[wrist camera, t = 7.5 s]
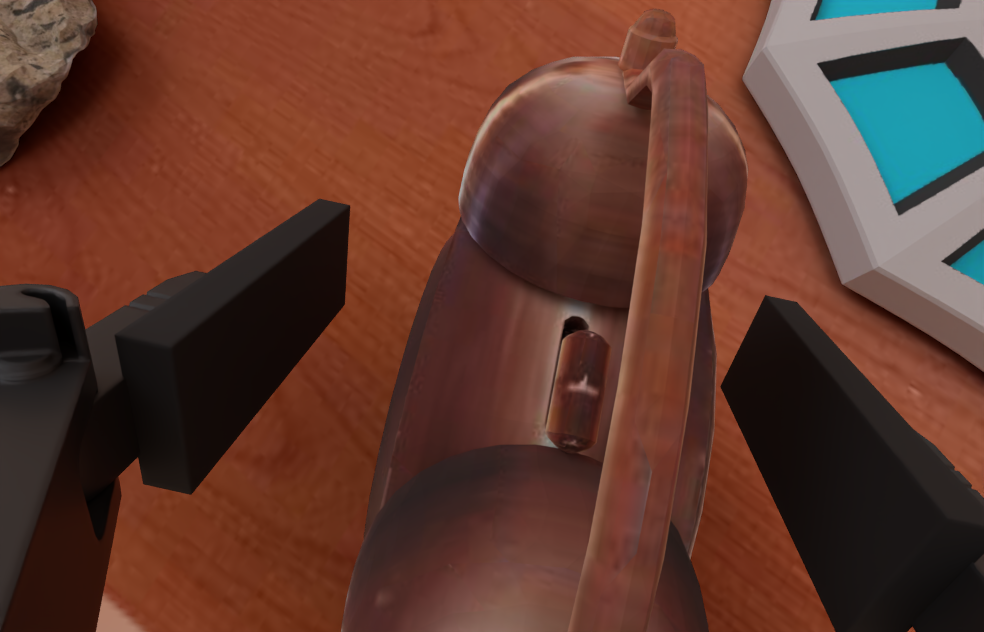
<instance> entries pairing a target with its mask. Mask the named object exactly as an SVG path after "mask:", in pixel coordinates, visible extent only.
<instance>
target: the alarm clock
mask: <svg viewBox="0 0 984 632" xmlns="http://www.w3.org/2000/svg"><path fill="white" fill-rule="evenodd" d="M677 42H678V38H677V36H676V29H675V19H674V17H673V16H672V15H671V14H670V13H668V12H666V11H664V10H660V9H651V10H647V11H644V13H643V14H642V15H641V16H640V18H639V19H638V20H637V21H636V23H635V24H634V25H633V26H631V27H629V30H628V33H627V37H626V40H625V43H624V46H623V50H622V53H621V56H620V58H618V57H571V58H567V59H563V60H559V61H555V62H552V63H549V64H547V65H544V66H541V67H539V68H536V69H533V70H531V71H530V72H528V73H527V74H525V75H524V76H522V77H521V78H519V79H518V80H516V81H514V82H513V83H511V84H510V85H508V87H507V88H506V89H505V90H504V91H503V92H502V94H501V95H500V96H499V97H498V98H497V100H496V101H495V102H494V103H493V104H492V106H491V108H490V110H489V111H488V113H487V115H486V117H485V119H484V121H483V123H482V124H481V126H480V128H479V130H478V132H477V135H476V137H475V140H474V142H473V145H472V147H471V150H470V153H469V156H468V160H467V163H466V167H465V170H464V174H463V179H462V184H461V188H460V193H459V210H460V214H461V217H460V220H459V223H458V225H457V228H456V230H455V233H454V234H453V235H452V236H451V237H450V238H449V240H448V241H447V242H446V243H445V245H444V247H443V248H442V250H441V252H440V254H439V256H438V258H437V261H436V263H435V265H434V267H433V269H432V271H431V274H430V277H429V280H428V282H427V285H426V288H425V290H424V293H423V296H422V298H421V301H420V304H419V307H418V310H417V313H416V316H415V319H414V322H413V325H412V328H411V332H410V335H409V338H408V342H407V345H406V348H405V352H404V355H403V358H402V362H401V366H400V369H399V373H398V377H397V380H396V384H395V388H394V391H393V395H392V399H391V402H390V406H389V411H388V415H387V419H386V424H385V428H384V432H383V437H382V441H381V445H380V449H379V454H378V459H377V464H376V469H375V473H374V478H373V483H372V488H371V493H370V498H369V505H368V511H367V518H366V524H365V532H364V540H363V543H362V546H361V549H360V552H359V554H358V557H357V560H356V563H355V566H354V570H353V574H352V578H351V582H350V586H349V590H348V594H347V599H346V605H345V610H344V615H343V621H342V630H341V632H709V629H708V623H707V619H706V614H705V609H704V604H703V599H702V594H701V590H700V586H699V583H698V580H697V577H696V574H695V571H694V568H693V566H692V563H691V560H690V558H691V554H692V550H693V546H694V542H695V538H696V535H697V531H698V527H699V523H700V519H701V515H702V510H703V504H704V497H705V490H706V483H707V477H708V470H709V463H710V457H711V450H712V443H713V436H714V427H715V393H716V360H717V352H716V345H715V338H714V331H713V324H712V316H711V309H710V301H709V292H708V287H710V286H711V285H712V284H713V283H714V281H715V280H716V278H717V276H718V275H719V273H720V271H721V269H722V267H723V265H724V263H725V261H726V259H727V257H728V255H729V252H730V250H731V247H732V244H733V241H734V238H735V235H736V232H737V229H738V226H739V223H740V220H741V217H742V214H743V211H744V206H745V197H746V188H747V177H748V165H747V159H746V153H745V149H744V147H743V144H742V142H741V140H740V137H739V135H738V133H737V130H736V128H735V126H734V124H733V123H732V122H731V120H730V119H729V118H728V116H727V115H726V114H725V112H724V111H723V110H722V108H721V107H720V106H719V105H718V104H717V103H716V102H715V101H714V100H713V99H711V98H710V97H709V96H708V95H707V90H706V81H705V72H704V64H703V63H702V62H701V61H700V60H699V59H698V58H697V57H696V56H695V55H693V54H691V53H688V52H686V51H684V50H682V49H675V48H676V45H677Z"/></svg>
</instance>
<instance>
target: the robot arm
mask: <svg viewBox="0 0 984 632" xmlns="http://www.w3.org/2000/svg"><path fill="white" fill-rule="evenodd" d="M349 217H350V205H346V204H341V203H337V202H332V201H327V200H323V199H318V200H317V201H315V202H314V203H312V204H311V205H309V206H308V207H306V208H305V209H303V210H302V211H300V212H299V213H297V214H296V215H294V216H293V217H291V218H290V219H288V220H287V221H285V222H284V223H282V224H280V225H279V226H277V227H276V228H274V229H273V230H271V231H270V232H268V233H267V234H265V235H264V236H262V237H261V238H259V239H258V240H256V241H255V242H253V243H252V244H250V245H249V246H247V247H246V248H244V249H243V250H241V251H240V252H238V253H237V254H235V255H234V256H232V257H231V258H229V259H228V260H226V261H225V262H223V263H222V264H220V265H219V266H217V267H216V268H214V269H213V270H211V271H210V272H208V273H203V272H199V271H194V272H190V273H187V274H184V275H181V276H177V277H174V278H171V279H168V280H166V281H164V282H163V283H161V284H159V285H158V286H156V287H154V288H153V289H151V290H150V291H148V292H147V295H141V296H140V297H138V298H137V299H135V300H133V301H132V302H130V305H129V306H126V305H125V306H123V307H122V308H120V309H119V310H117V311H115V312H114V313H112V314H110V315H109V316H107V317H105V318H104V319H102V320H101V321H99V322H97V323H96V324H94V325H92V326H91V327H89V328H87V329H86V330H85V327H84V322H83V318H82V313H81V309H80V304H79V300H78V297H77V296H76V295H74V294H73V293H72V292H70V291H69V290H67V289H63V288H59V287H55V286H52V285H39V284H19V285H7V286H0V632H96V627H97V622H98V617H99V612H100V606H101V601H102V596H103V590H104V585H105V580H106V575H107V569H108V564H109V559H110V553H111V548H112V543H113V538H114V532H115V527H116V522H117V516H118V511H119V506H120V500H121V488H120V482H119V478H118V476H119V475H120V474H121V473H122V472H123V471H124V470H125V469H126V468H127V467H128V466H129V465H130V464H131V463H132V462H133V461H134V460H135V459H136V458H137V457H138V459H139V464H140V469H141V474H142V480H143V484H145V485H150V486H154V487H159V488H163V489H168V490H172V491H177V492H181V493H186V494H190V495H191V494H192V493H193V492H194V491H195V489H196V488H197V487H198V486H199V484H200V483H201V482H202V481H203V479H204V478H205V477H206V476H207V475H208V473H209V472H210V471H211V470H212V468H213V467H214V466H215V465H216V463H217V462H218V461H219V460H220V458H221V457H222V456H223V455H224V453H225V452H226V451H227V450H228V448H229V447H230V446H231V445H232V444H233V442H234V441H235V440H236V439H237V437H238V436H239V435H240V434H241V432H242V431H243V430H244V429H245V427H246V426H247V425H248V424H249V422H250V421H251V420H252V419H253V418H254V416H255V415H256V414H257V413H258V411H259V410H260V409H261V408H262V406H263V405H264V404H265V403H266V401H267V400H268V399H269V398H270V396H271V395H272V394H273V393H274V392H275V390H276V389H277V388H278V387H279V385H280V384H281V383H282V382H283V380H284V379H285V378H286V377H287V375H288V374H289V373H290V372H291V370H292V369H293V368H294V367H295V365H296V364H297V363H298V362H299V361H300V359H301V358H302V357H303V356H304V354H305V353H306V352H307V351H308V349H309V348H310V347H311V346H312V344H313V343H314V342H315V341H316V339H317V338H318V337H319V336H320V335H321V333H322V332H323V331H324V330H325V328H326V327H327V326H328V325H329V323H330V322H331V321H332V320H333V318H334V317H335V316H336V315H337V313H338V312H339V311H340V310H341V308H342V307H343V306H344V305H345V290H346V272H347V253H348V235H349ZM720 387H721V389H722V391H723V393H724V395H725V397H726V400H727V402H728V404H729V406H730V408H731V410H732V412H733V414H734V417H735V419H736V421H737V423H738V425H739V427H740V429H741V431H742V434H743V436H744V438H745V440H746V442H747V444H748V446H749V448H750V451H751V453H752V455H753V457H754V459H755V461H756V463H757V465H758V468H759V470H760V472H761V474H762V476H763V478H764V480H765V482H766V484H767V487H768V489H769V491H770V493H771V495H772V497H773V499H774V501H775V504H776V506H777V508H778V510H779V512H780V514H781V516H782V518H783V521H784V523H785V525H786V527H787V529H788V531H789V533H790V535H791V538H792V540H793V542H794V544H795V546H796V548H797V550H798V552H799V555H800V557H801V559H802V561H803V563H804V565H805V567H806V569H807V571H808V574H809V576H810V578H811V580H812V582H813V584H814V586H815V588H816V591H817V593H818V595H819V597H820V599H821V601H822V603H823V605H824V608H825V610H826V612H827V614H828V616H829V618H830V620H831V622H832V625H833V627H834V629H835V631H836V632H907V631H908V630H909V629H910V628H911V627H912V626H913V628H914V629H915V631H916V632H984V498H983V497H982V496H981V495H980V493H979V492H978V491H977V490H973V489H971V486H972V485H971V484H970V483H969V482H968V481H967V480H966V478H965V477H964V476H963V475H962V474H961V473H960V472H959V471H955V470H954V468H955V467H954V466H953V465H952V463H951V462H950V461H949V460H948V459H947V458H946V457H945V456H944V455H943V454H942V453H941V452H940V451H939V450H938V448H937V447H936V446H935V445H934V444H932V443H931V442H930V441H928V440H927V439H925V438H924V437H923V436H921V435H920V434H919V433H917V432H916V431H915V430H913V429H912V427H911V426H910V425H909V424H908V423H907V422H906V421H905V420H904V419H903V418H902V417H901V415H900V414H899V413H898V412H897V411H896V410H895V409H894V408H893V407H892V406H891V405H890V403H889V402H888V401H887V400H886V399H885V398H884V397H883V396H882V395H881V394H880V392H879V391H878V390H877V389H876V388H875V387H874V386H873V385H872V384H871V383H870V382H869V380H868V379H867V378H866V377H865V376H864V375H863V374H862V373H861V372H860V371H859V370H858V368H857V367H856V366H855V365H854V364H853V363H852V362H851V361H850V360H849V359H848V358H847V356H846V355H845V354H844V353H843V352H842V351H841V350H840V349H839V348H838V347H837V346H836V344H835V343H834V342H833V341H832V340H831V339H830V338H829V337H828V336H827V335H826V334H825V332H824V331H823V330H822V329H821V328H820V327H819V326H818V325H817V324H816V323H815V322H814V320H813V319H812V318H811V317H810V316H809V315H808V314H807V313H806V312H805V311H804V310H803V308H802V307H801V306H800V305H799V304H798V303H797V302H794V301H789V300H784V299H780V298H775V297H771V296H766V295H765V297H764V299H763V301H762V303H761V305H760V307H759V309H758V311H757V313H756V315H755V317H754V320H753V322H752V324H751V326H750V328H749V330H748V332H747V334H746V336H745V338H744V340H743V342H742V344H741V346H740V348H739V350H738V352H737V354H736V356H735V358H734V360H733V362H732V364H731V366H730V368H729V370H728V372H727V374H726V376H725V378H724V380H723V382H722V384H721V386H720Z"/></svg>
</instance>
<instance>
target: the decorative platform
mask: <svg viewBox="0 0 984 632" xmlns="http://www.w3.org/2000/svg"><path fill="white" fill-rule="evenodd" d="M742 80H743V82H744V83H745V85H746V87H747V88H748V90H749V91H750V93H751V95H752V96H753V98H754V100H755V101H756V103H757V104H758V106H759V108H760V109H761V111H762V113H763V114H764V116H765V118H766V119H767V121H768V123H769V124H770V126H771V128H772V130H773V131H774V133H775V135H776V137H777V138H778V140H779V142H780V144H781V145H782V147H783V149H784V151H785V153H786V154H787V156H788V158H789V160H790V162H791V164H792V166H793V168H794V170H795V172H796V174H797V176H798V178H799V180H800V182H801V184H802V187H803V189H804V191H805V193H806V195H807V197H808V200H809V202H810V204H811V207H812V209H813V211H814V214H815V216H816V219H817V221H818V223H819V226H820V228H821V231H822V234H823V236H824V239H825V241H826V244H827V246H828V249H829V252H830V254H831V257H832V259H833V262H834V265H835V267H836V270H837V273H838V276H839V278H840V281H841V284H842V285H844V286H846V287H847V288H849V289H851V290H853V291H855V292H856V293H858V294H860V295H862V296H863V297H865V298H867V299H869V300H871V301H872V302H874V303H876V304H878V305H879V306H881V307H883V308H884V309H886V310H888V311H890V312H891V313H893V314H895V315H897V316H898V317H900V318H902V319H903V320H905V321H907V322H908V323H910V324H912V325H913V326H915V327H917V328H918V329H920V330H921V331H923V332H925V333H926V334H928V335H930V336H931V337H933V338H934V339H936V340H937V341H939V342H941V343H942V344H944V345H945V346H947V347H948V348H950V349H951V350H953V351H954V352H956V353H957V354H959V355H960V356H962V357H963V358H965V359H966V360H967V361H969V362H970V363H972V364H973V365H974V366H976V367H977V368H979V369H980V370H982V371H983V372H984V0H772V1H771V4H770V8H769V11H768V14H767V17H766V20H765V23H764V25H763V28H762V31H761V34H760V36H759V39H758V41H757V44H756V46H755V49H754V51H753V54H752V56H751V58H750V61H749V63H748V66H747V68H746V70H745V73H744V75H743V79H742Z"/></svg>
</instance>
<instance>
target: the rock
mask: <svg viewBox="0 0 984 632" xmlns="http://www.w3.org/2000/svg"><path fill="white" fill-rule="evenodd" d="M97 24H98V23H97V11H96V6H95V5H94V3H93V1H92V0H0V166H2V165H3V164H4V163H6V162H7V161H9V160H10V159H11V157H12V156H13V154H14V152H15V150H16V148H17V147H18V145H19V137H20V136H21V135H22V134H23V133H24V132H25V131H26V130H27V129H28V128H29V127H30V126H31V125H32V124H33V123H34V121H35V120H36V118H37V117H38V115H39V113H40V112H41V110H42V109H43V108H45V107H46V106H47V105H48V104H49V103H51V102H52V101H53V100H55V99H56V97H57V95H58V93H59V92H60V90H61V82H62V81H63V80H64V79H66V78H67V76H68V73H69V70H70V68H71V64H72V60H73V58H74V57H75V55H76V54H77V53H78V52H80V51H82V50H84V49H85V48H86V47H87V46H88V45H89V41H90V38H91V37H92V36H93V35H95V29H96V26H97Z"/></svg>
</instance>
